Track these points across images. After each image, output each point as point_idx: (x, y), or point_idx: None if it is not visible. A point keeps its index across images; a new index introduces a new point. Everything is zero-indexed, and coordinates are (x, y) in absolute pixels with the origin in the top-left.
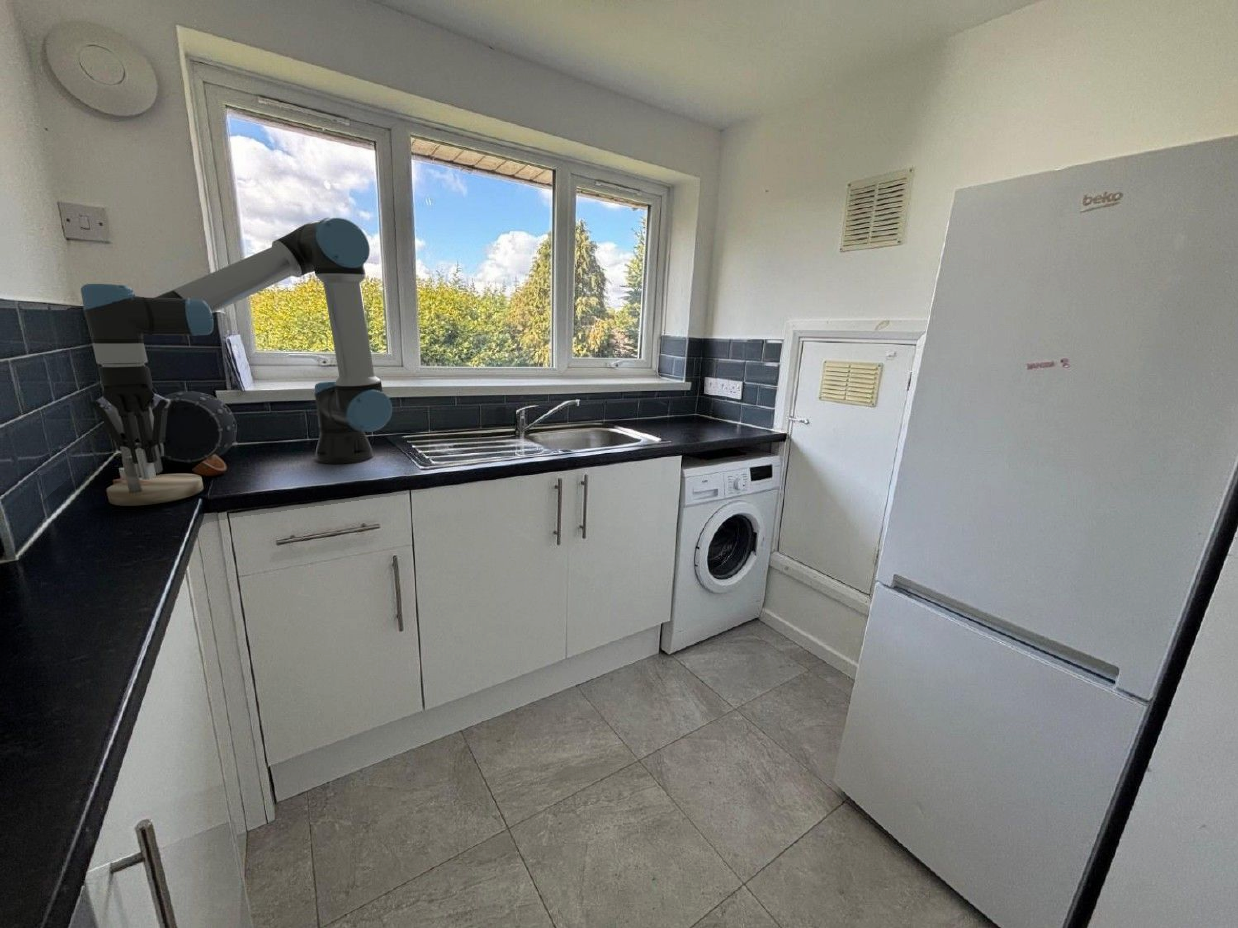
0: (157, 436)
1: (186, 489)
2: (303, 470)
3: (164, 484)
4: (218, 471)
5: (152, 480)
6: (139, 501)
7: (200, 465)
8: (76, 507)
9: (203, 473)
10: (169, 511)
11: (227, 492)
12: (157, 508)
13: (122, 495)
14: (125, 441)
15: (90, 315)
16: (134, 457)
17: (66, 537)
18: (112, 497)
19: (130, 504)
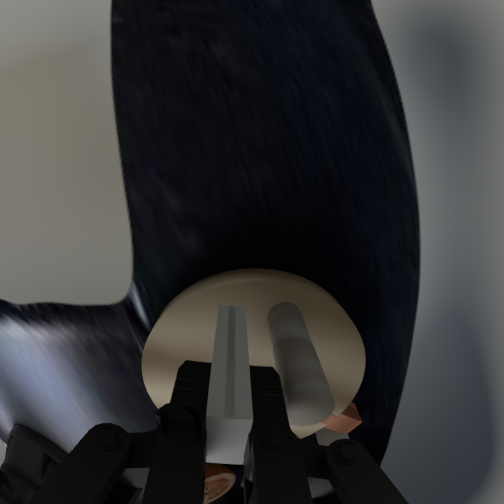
0: (72, 467)
1: (154, 326)
2: (59, 427)
3: None
4: None
5: None
6: (265, 272)
7: (206, 474)
8: (405, 327)
9: (210, 462)
10: (178, 220)
11: (107, 350)
12: (223, 263)
13: (313, 292)
14: (317, 478)
15: None
16: (270, 392)
17: (355, 76)
18: (342, 308)
19: (290, 273)
